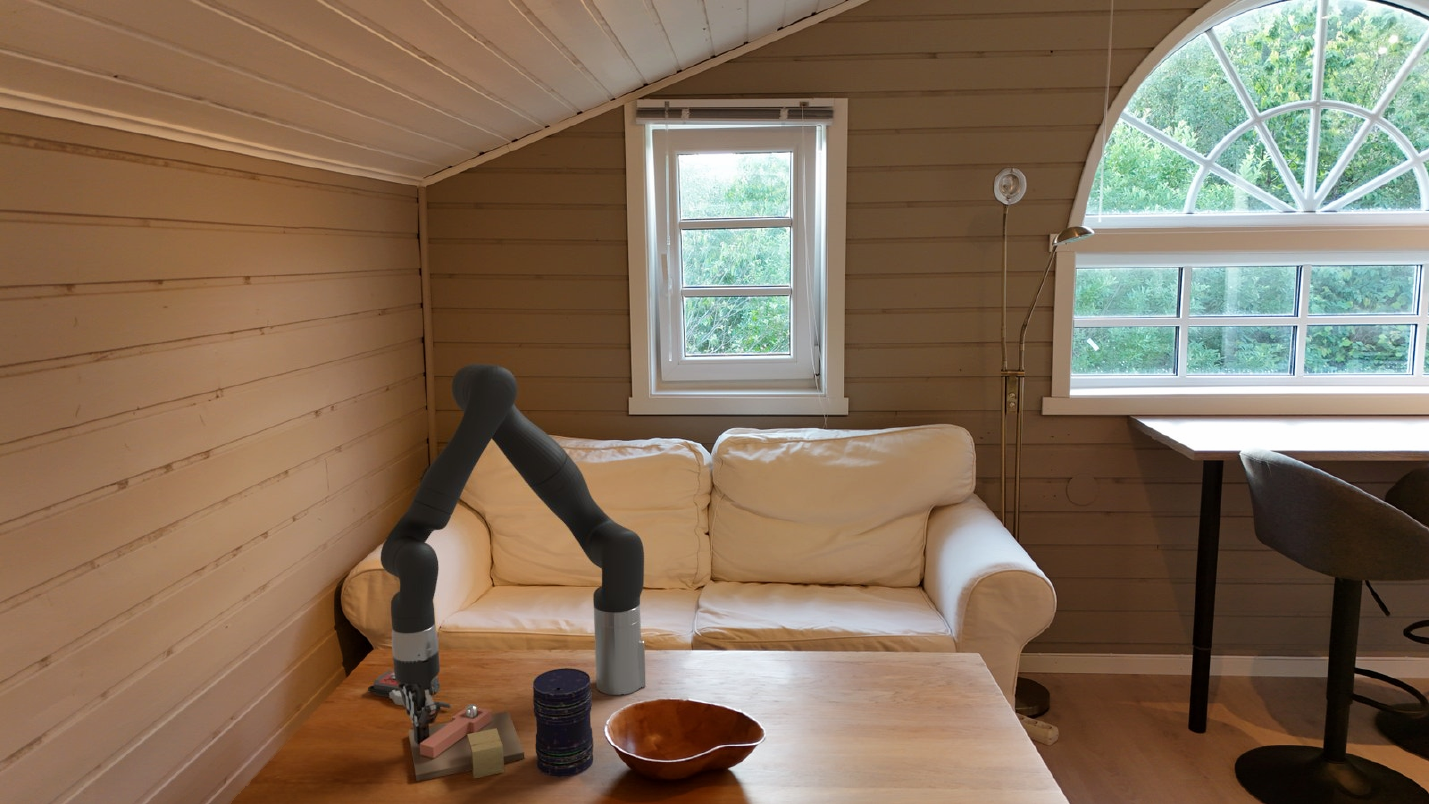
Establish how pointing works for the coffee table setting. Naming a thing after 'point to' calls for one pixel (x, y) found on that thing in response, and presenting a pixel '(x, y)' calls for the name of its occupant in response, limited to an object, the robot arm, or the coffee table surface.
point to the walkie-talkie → (396, 688)
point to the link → (454, 732)
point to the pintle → (471, 711)
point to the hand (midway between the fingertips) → (422, 742)
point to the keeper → (486, 753)
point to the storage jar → (563, 722)
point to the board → (464, 750)
